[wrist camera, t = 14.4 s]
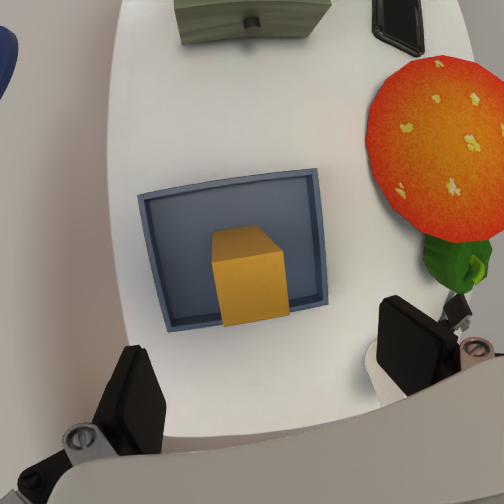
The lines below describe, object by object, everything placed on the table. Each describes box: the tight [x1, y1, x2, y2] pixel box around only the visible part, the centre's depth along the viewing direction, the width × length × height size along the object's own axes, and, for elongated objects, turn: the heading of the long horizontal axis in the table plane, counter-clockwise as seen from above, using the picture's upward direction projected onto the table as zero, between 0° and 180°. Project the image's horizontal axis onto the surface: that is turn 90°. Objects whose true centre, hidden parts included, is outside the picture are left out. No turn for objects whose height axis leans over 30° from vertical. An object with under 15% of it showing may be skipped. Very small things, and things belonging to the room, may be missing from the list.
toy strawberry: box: [366, 55, 504, 243], centre depth 23 cm, size 15×21×15 cm
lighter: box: [439, 293, 472, 333], centre depth 35 cm, size 8×2×5 cm
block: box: [212, 225, 290, 327], centre depth 24 cm, size 4×4×12 cm
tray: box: [137, 168, 328, 333], centre depth 29 cm, size 17×14×2 cm
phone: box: [372, 0, 425, 57], centre depth 25 cm, size 8×1×15 cm
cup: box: [364, 339, 407, 408], centre depth 30 cm, size 12×12×12 cm
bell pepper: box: [423, 234, 492, 294], centre depth 29 cm, size 8×8×10 cm
